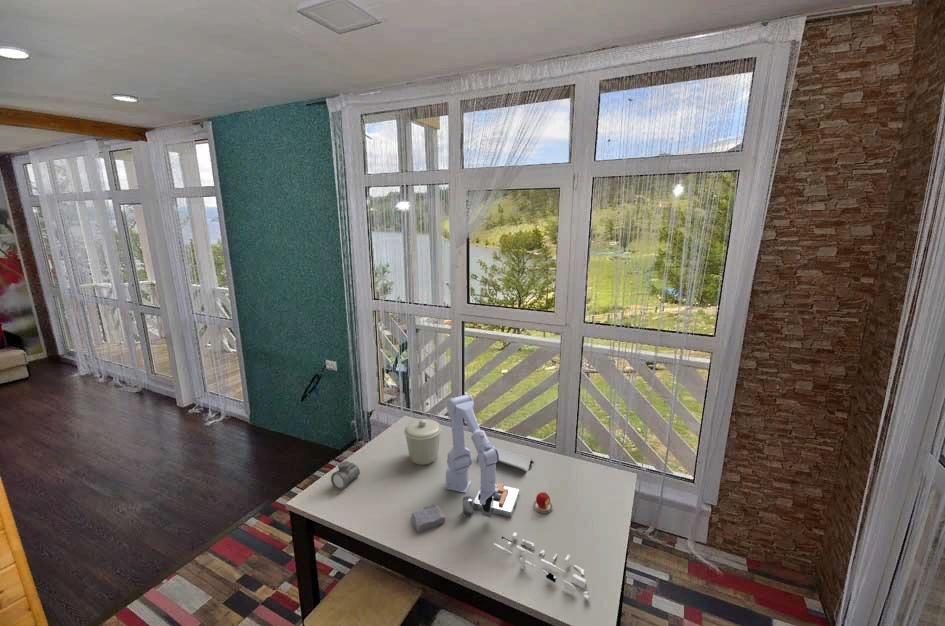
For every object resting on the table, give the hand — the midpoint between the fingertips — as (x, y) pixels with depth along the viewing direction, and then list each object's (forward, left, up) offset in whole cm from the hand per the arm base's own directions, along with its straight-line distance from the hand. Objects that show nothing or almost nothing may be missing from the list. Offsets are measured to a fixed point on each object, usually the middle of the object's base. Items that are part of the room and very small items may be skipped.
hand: (487, 507), depth 159 cm
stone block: (-23, -7, -7) cm, 25 cm away
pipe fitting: (-67, +2, -7) cm, 67 cm away
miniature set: (+24, -13, -7) cm, 28 cm away
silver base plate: (0, +12, -6) cm, 14 cm away
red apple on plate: (+19, +15, -7) cm, 25 cm away
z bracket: (-4, +40, -7) cm, 41 cm away
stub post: (-9, +2, -6) cm, 11 cm away
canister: (-42, +29, -7) cm, 51 cm away
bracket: (0, +13, -4) cm, 13 cm away
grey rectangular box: (0, 0, -3) cm, 3 cm away
